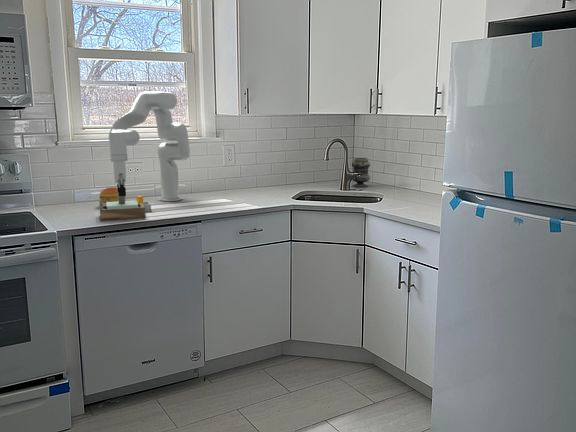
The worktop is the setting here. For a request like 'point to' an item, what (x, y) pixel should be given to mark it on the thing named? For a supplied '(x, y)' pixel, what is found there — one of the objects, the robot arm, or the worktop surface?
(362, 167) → the apothecary jar
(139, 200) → the pipe clamp
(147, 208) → the clamp corral
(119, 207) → the mint green slab
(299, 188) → the worktop surface
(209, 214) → the worktop surface
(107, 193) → the burger
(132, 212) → the wooden box
